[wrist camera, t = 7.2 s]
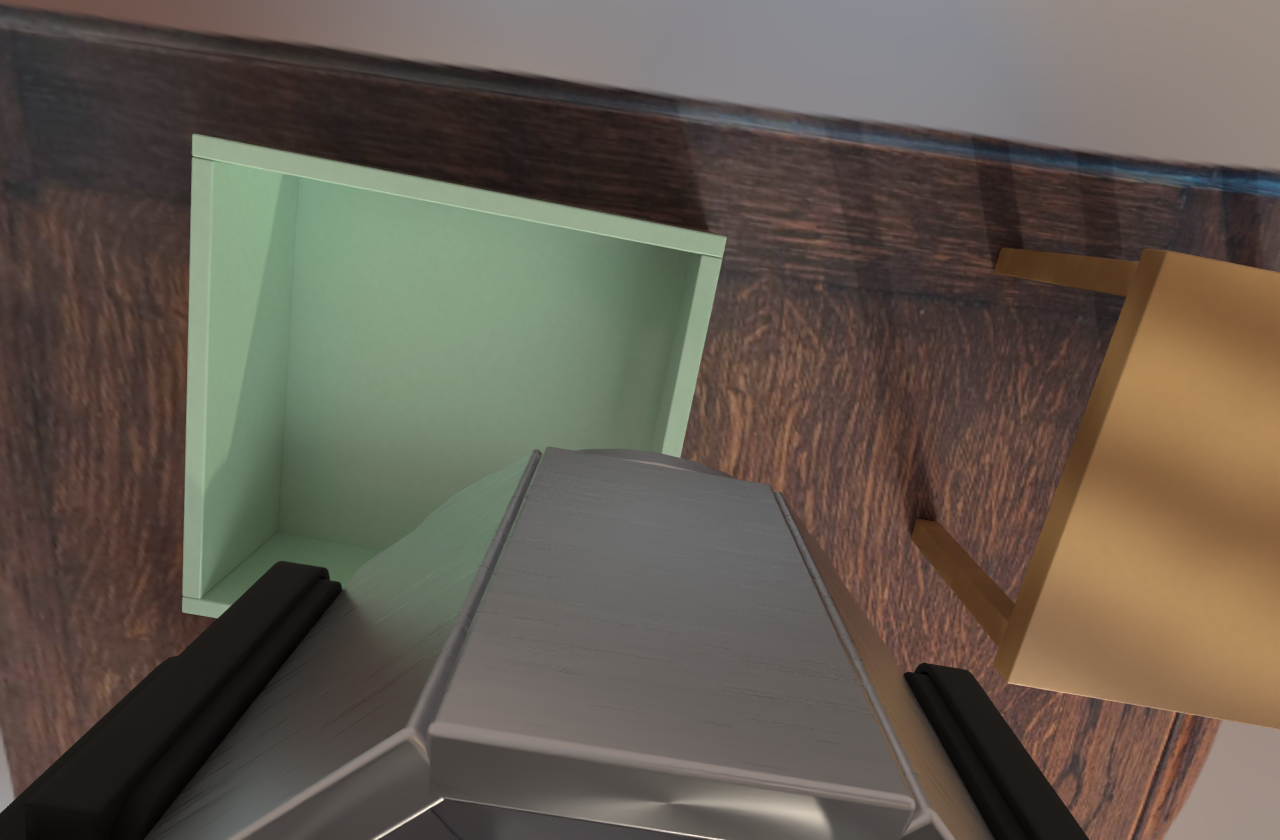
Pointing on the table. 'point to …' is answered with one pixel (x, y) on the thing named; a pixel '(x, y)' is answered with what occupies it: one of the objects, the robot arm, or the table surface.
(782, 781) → the saucepan
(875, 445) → the table surface
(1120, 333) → the stand
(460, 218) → the basin
